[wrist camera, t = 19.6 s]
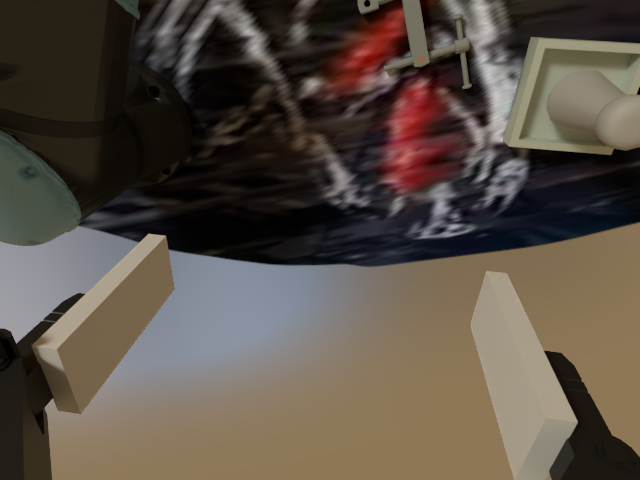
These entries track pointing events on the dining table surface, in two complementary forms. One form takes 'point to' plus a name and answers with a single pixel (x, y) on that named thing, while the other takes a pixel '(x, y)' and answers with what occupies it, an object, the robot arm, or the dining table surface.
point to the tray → (549, 68)
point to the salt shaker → (596, 109)
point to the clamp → (423, 38)
